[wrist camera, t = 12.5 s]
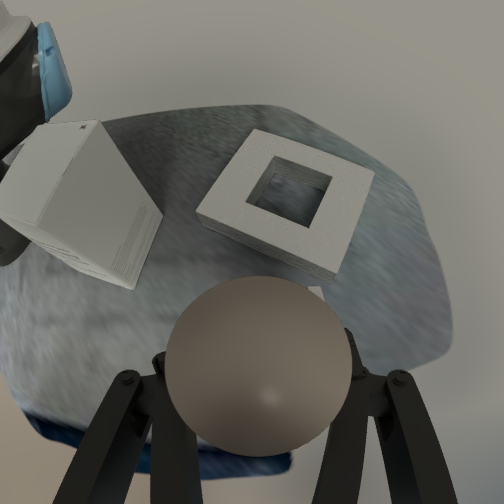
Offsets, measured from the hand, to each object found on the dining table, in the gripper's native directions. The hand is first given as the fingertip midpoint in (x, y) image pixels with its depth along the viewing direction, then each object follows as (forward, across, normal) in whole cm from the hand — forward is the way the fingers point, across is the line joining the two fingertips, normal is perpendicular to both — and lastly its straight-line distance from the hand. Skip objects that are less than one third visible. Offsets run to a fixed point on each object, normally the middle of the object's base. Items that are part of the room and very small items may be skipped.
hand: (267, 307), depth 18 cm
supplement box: (+12, -17, 0) cm, 21 cm away
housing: (+15, +2, +3) cm, 15 cm away
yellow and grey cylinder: (0, 0, -6) cm, 6 cm away
